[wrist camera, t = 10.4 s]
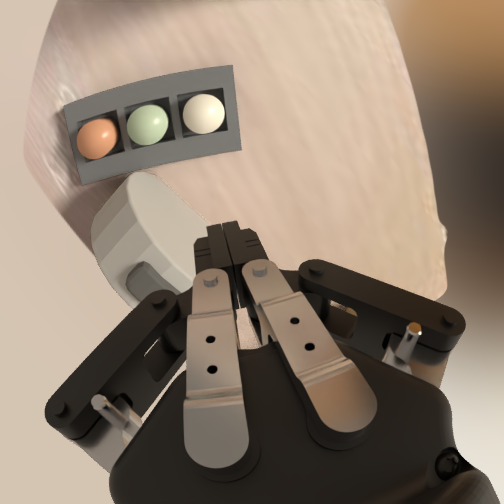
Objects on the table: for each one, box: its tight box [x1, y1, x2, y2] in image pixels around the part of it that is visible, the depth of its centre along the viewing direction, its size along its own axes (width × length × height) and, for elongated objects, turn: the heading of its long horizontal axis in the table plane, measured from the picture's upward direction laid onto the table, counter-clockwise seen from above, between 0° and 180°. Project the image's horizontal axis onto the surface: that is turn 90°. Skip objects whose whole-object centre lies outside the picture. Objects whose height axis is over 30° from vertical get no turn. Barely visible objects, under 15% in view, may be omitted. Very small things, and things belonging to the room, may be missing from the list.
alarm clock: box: [91, 172, 238, 309], centre depth 35 cm, size 21×8×20 cm, turn 39°
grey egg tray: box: [63, 65, 242, 185], centre depth 33 cm, size 12×23×3 cm, turn 95°
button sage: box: [127, 104, 169, 145], centre depth 32 cm, size 5×5×4 cm
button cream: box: [183, 94, 225, 134], centre depth 33 cm, size 5×5×4 cm
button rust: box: [77, 117, 120, 159], centre depth 31 cm, size 5×5×4 cm
